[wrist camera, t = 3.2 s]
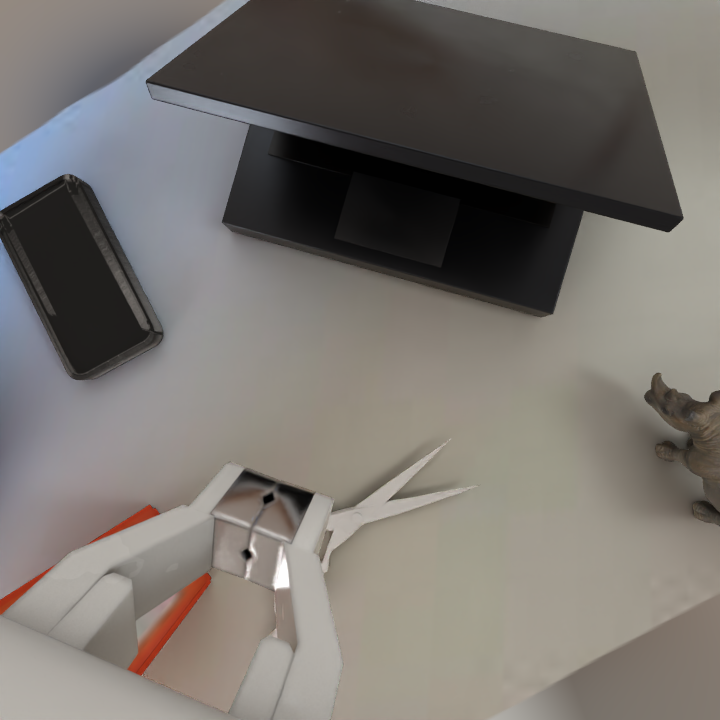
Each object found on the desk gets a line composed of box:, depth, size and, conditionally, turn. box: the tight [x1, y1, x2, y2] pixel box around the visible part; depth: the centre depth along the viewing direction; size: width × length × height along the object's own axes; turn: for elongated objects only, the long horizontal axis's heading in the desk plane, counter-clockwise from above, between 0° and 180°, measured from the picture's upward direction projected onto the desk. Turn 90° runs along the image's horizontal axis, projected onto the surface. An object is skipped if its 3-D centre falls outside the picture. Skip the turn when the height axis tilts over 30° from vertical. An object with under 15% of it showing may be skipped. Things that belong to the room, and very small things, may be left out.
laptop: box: [222, 124, 583, 317], centre depth 26 cm, size 18×25×2 cm
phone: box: [0, 174, 163, 380], centre depth 28 cm, size 8×1×15 cm
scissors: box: [270, 440, 479, 638], centre depth 27 cm, size 11×1×20 cm
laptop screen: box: [146, 0, 684, 232], centre depth 21 cm, size 18×25×1 cm
